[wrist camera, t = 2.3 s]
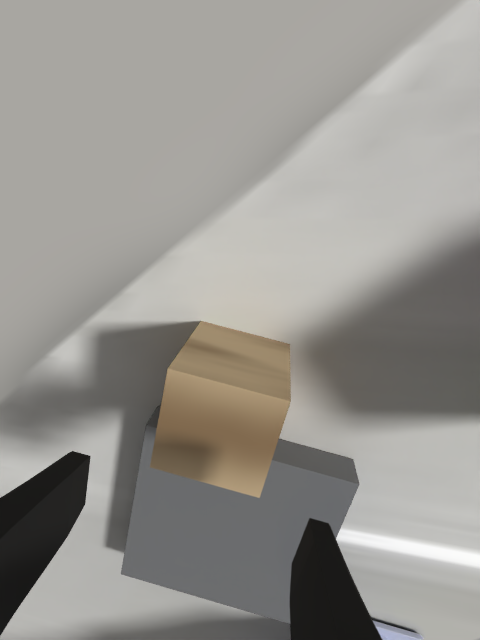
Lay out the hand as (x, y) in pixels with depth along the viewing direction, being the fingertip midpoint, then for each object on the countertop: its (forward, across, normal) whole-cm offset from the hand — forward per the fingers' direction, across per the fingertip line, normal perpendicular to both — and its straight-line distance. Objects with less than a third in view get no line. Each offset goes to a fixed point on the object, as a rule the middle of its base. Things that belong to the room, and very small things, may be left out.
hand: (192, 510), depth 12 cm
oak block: (+10, 0, 0) cm, 10 cm away
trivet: (+10, -2, +10) cm, 14 cm away
